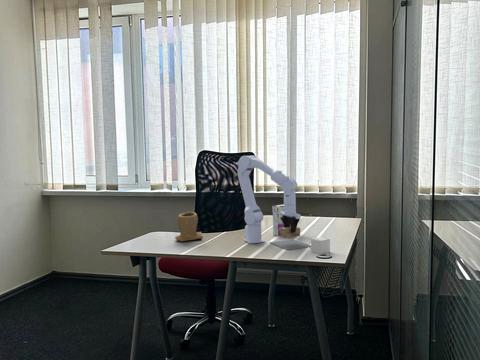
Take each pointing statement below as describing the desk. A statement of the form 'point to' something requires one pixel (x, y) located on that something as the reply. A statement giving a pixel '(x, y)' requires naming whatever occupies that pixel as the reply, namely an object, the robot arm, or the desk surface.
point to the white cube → (320, 245)
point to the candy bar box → (277, 219)
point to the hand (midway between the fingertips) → (290, 231)
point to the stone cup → (188, 227)
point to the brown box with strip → (289, 232)
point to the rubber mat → (290, 244)
